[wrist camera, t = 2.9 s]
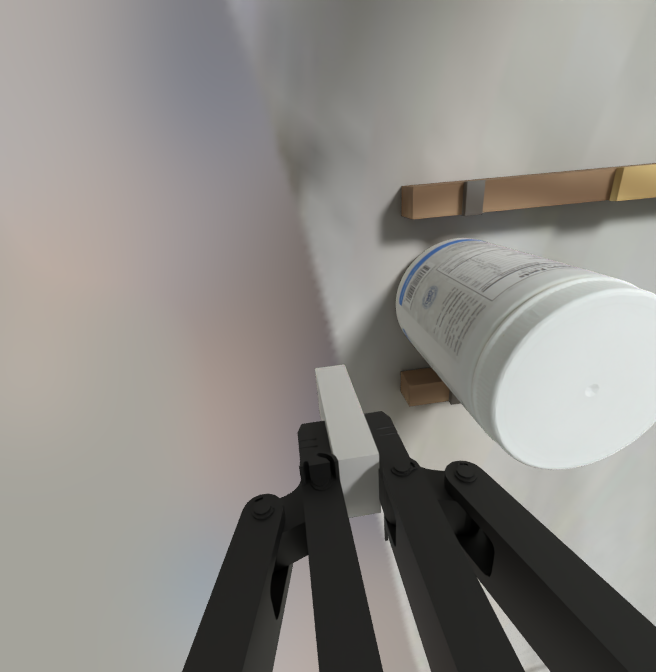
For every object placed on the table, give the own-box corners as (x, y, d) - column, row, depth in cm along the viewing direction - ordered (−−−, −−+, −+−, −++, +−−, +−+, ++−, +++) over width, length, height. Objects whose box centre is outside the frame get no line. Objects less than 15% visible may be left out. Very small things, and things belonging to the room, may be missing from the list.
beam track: (401, 185, 25) (416, 186, 23) (822, 147, 28) (881, 144, 26) (400, 391, 32) (412, 411, 30) (738, 343, 35) (777, 357, 33)
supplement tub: (508, 329, 31) (682, 442, 18) (404, 363, 31) (500, 501, 18) (499, 217, 27) (713, 254, 14) (379, 256, 27) (479, 331, 14)
